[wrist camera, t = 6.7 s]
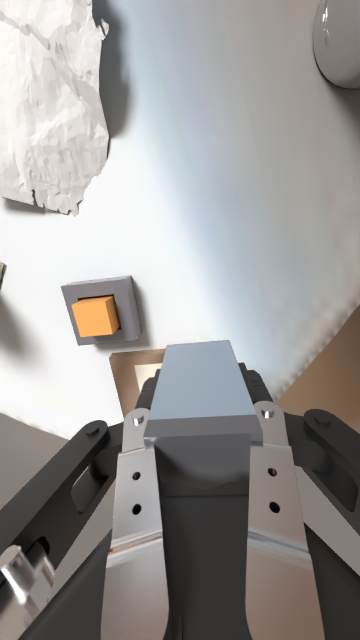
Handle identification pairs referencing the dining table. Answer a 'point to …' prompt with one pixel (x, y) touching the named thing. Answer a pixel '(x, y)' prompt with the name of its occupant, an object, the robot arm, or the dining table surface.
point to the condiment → (0, 267)
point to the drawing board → (133, 374)
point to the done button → (96, 316)
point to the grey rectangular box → (202, 417)
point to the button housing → (124, 303)
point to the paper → (50, 102)
